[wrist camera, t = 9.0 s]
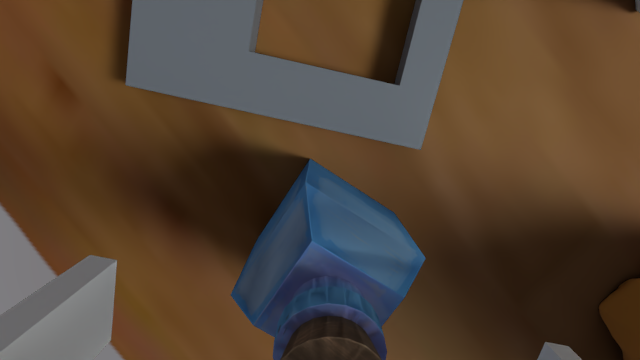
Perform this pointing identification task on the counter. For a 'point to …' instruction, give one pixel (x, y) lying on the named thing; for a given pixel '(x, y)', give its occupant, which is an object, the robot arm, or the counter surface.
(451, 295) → the counter surface
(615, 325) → the coffee package
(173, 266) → the counter surface
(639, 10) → the tea box
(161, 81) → the pallet plate
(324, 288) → the perfume bottle
